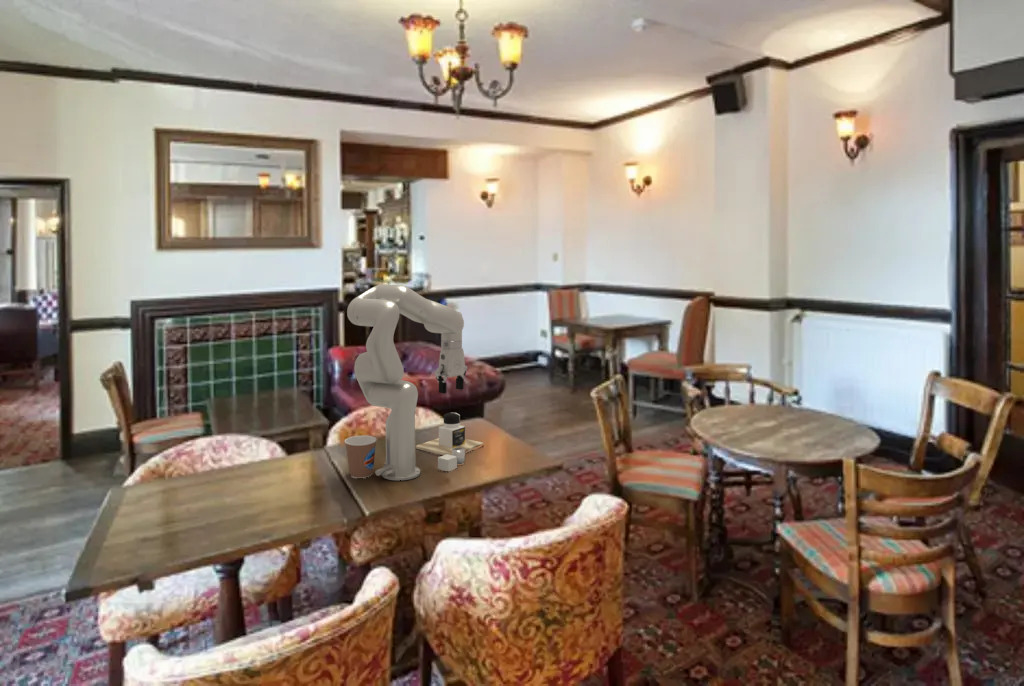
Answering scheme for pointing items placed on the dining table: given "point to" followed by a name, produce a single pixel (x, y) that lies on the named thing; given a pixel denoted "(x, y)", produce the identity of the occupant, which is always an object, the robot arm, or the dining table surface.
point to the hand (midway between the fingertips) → (451, 391)
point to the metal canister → (459, 455)
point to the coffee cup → (361, 455)
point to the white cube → (447, 462)
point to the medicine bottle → (451, 431)
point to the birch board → (435, 447)
